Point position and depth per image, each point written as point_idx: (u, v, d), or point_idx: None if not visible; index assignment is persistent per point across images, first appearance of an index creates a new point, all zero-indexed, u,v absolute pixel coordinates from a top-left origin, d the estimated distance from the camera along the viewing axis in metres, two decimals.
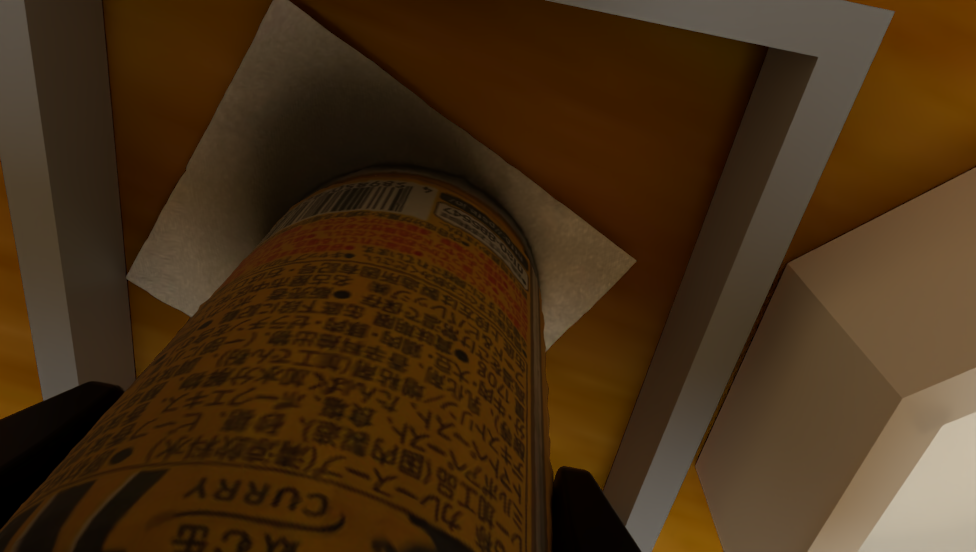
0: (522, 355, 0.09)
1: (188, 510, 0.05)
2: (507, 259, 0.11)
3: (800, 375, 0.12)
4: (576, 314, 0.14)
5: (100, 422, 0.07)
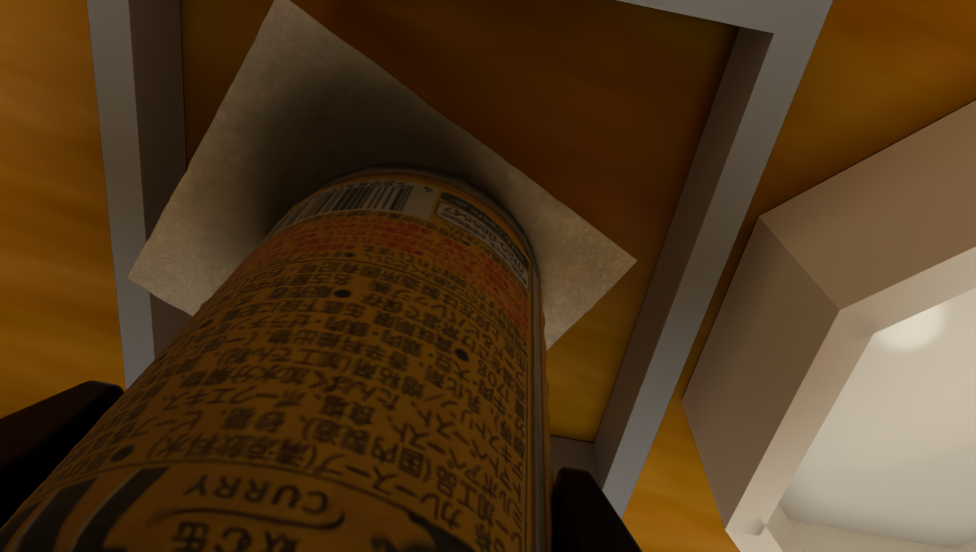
0: (522, 353, 0.09)
1: (189, 507, 0.05)
2: (508, 259, 0.11)
3: (766, 306, 0.14)
4: (577, 314, 0.14)
5: (101, 420, 0.07)
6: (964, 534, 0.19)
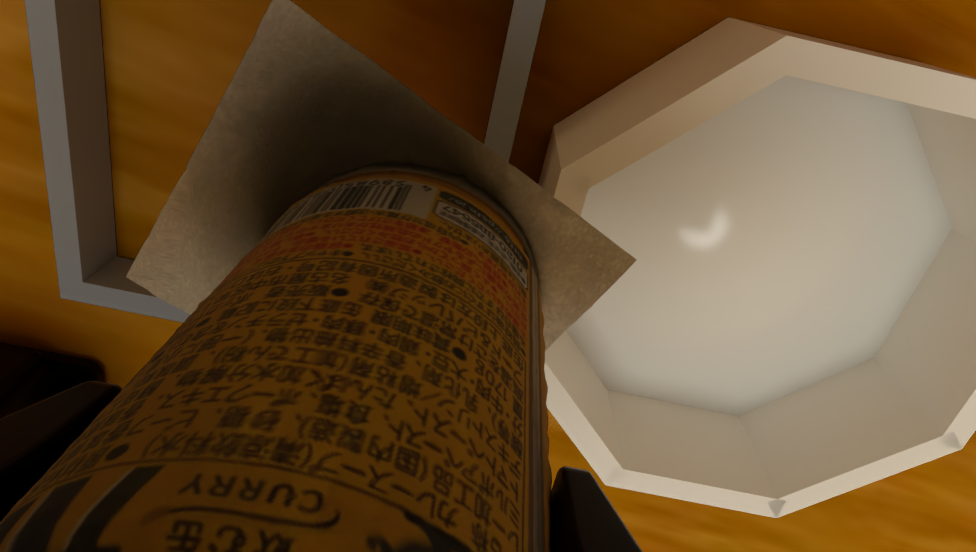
0: (520, 353, 0.09)
1: (182, 504, 0.05)
2: (506, 259, 0.11)
3: (544, 188, 0.19)
4: (576, 313, 0.14)
5: (97, 419, 0.07)
6: (748, 403, 0.24)
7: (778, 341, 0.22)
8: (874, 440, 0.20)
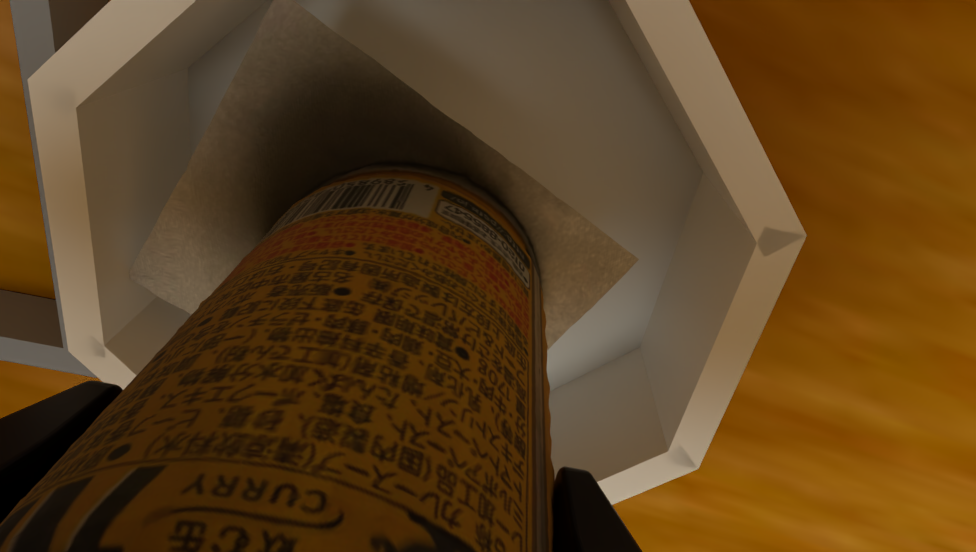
0: (524, 352, 0.09)
1: (185, 506, 0.05)
2: (509, 258, 0.11)
3: None
4: (578, 313, 0.14)
5: (99, 419, 0.07)
6: None
7: None
8: (598, 456, 0.15)
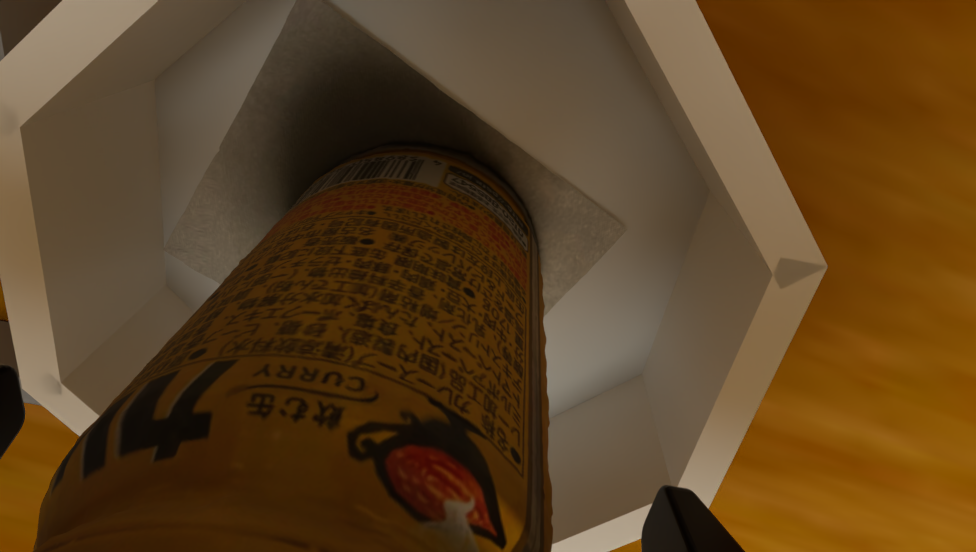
0: (521, 300, 0.11)
1: (257, 384, 0.06)
2: (508, 224, 0.12)
3: None
4: (573, 279, 0.15)
5: (170, 341, 0.08)
6: None
7: None
8: (598, 496, 0.14)
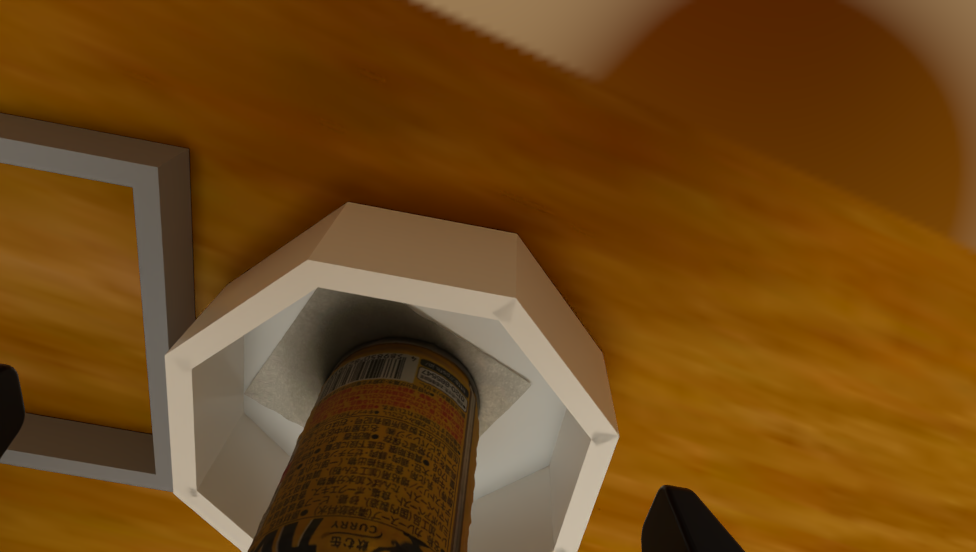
0: (457, 454, 0.20)
1: (333, 531, 0.15)
2: (454, 397, 0.22)
3: None
4: (501, 412, 0.24)
5: (283, 496, 0.17)
6: None
7: None
8: (514, 549, 0.23)
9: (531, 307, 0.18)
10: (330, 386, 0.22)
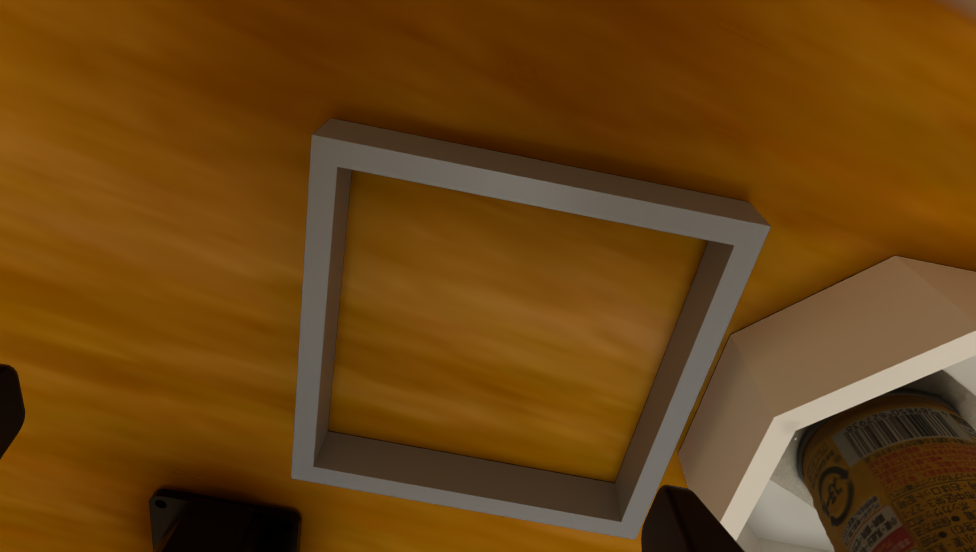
0: None
1: None
2: None
3: (733, 401, 0.21)
4: None
5: None
6: None
7: None
8: None
9: None
10: (866, 441, 0.21)
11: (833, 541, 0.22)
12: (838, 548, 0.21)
